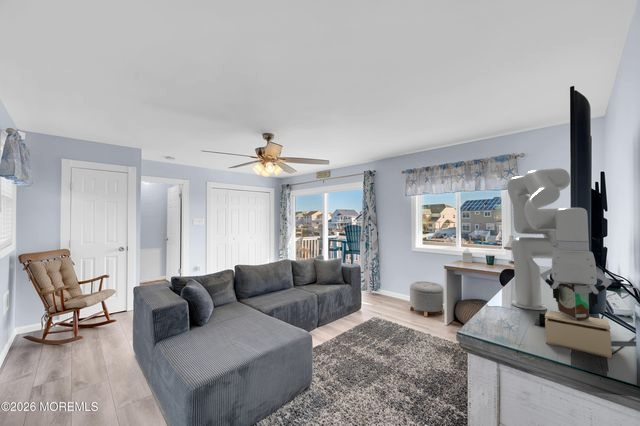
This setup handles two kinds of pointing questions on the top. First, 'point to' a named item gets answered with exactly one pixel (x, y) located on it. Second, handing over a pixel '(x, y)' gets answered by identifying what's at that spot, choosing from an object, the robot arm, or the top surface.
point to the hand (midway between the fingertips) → (574, 303)
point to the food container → (574, 300)
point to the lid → (590, 322)
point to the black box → (541, 319)
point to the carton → (579, 337)
